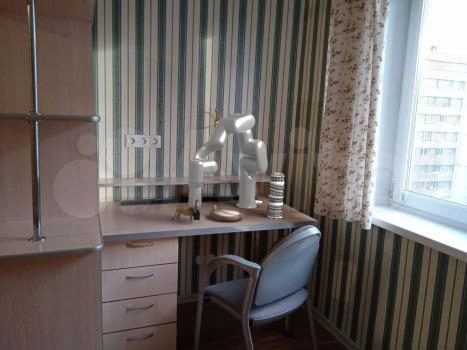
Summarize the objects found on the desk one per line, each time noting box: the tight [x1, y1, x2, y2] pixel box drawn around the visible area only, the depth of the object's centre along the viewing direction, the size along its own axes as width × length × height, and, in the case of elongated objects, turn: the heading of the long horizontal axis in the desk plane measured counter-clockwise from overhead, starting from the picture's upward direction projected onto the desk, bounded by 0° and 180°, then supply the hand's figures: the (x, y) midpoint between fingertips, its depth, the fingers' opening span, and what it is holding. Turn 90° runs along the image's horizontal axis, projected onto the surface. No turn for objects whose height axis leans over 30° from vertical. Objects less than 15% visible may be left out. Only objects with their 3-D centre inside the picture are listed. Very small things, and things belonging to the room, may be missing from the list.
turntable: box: [209, 204, 244, 222], centre depth 199 cm, size 18×18×5 cm
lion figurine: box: [171, 206, 194, 223], centre depth 189 cm, size 15×5×9 cm, turn 90°
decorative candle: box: [266, 171, 286, 220], centre depth 205 cm, size 9×9×25 cm
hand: (194, 217), depth 190 cm, fingers open, 9 cm apart
